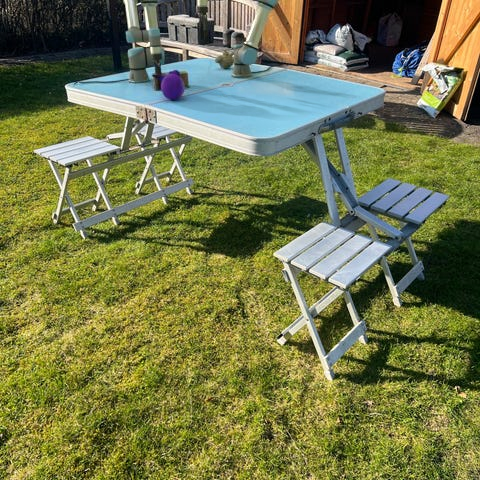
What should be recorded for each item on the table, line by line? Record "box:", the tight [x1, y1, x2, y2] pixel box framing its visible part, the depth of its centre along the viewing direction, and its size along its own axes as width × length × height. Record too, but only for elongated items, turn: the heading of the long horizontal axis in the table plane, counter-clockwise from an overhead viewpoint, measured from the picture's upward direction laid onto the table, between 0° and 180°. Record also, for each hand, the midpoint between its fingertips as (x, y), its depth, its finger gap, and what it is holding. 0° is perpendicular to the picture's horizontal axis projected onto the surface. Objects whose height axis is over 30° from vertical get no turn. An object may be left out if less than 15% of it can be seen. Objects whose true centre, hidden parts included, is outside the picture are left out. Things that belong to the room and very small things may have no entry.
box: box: [152, 70, 190, 91], centre depth 314 cm, size 23×8×10 cm, turn 107°
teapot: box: [214, 49, 234, 70], centre depth 375 cm, size 21×12×15 cm, turn 120°
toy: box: [151, 69, 186, 101], centre depth 286 cm, size 16×18×27 cm
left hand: (159, 87), depth 314 cm, fingers closed on box, 8 cm apart
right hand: (204, 40), depth 316 cm, fingers open, 13 cm apart
